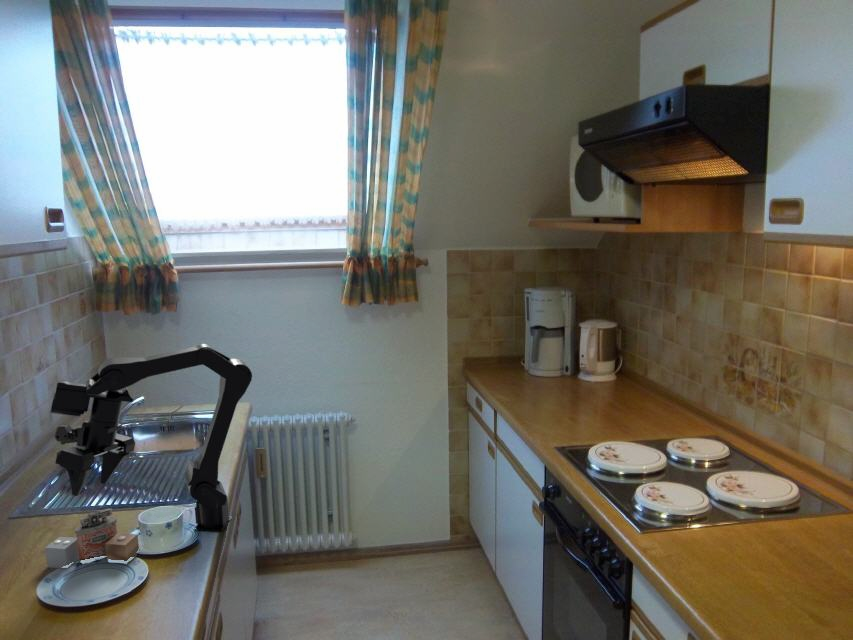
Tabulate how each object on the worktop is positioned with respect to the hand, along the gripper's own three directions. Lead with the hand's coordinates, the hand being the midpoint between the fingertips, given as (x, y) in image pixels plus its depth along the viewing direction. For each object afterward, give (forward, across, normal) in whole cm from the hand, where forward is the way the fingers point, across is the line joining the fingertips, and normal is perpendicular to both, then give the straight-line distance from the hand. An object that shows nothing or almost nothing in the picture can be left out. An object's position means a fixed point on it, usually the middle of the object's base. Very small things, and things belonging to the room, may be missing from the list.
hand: (89, 489), depth 144 cm
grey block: (+15, +3, 0) cm, 16 cm away
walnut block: (+12, 0, +11) cm, 16 cm away
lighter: (+14, 0, +5) cm, 15 cm away
